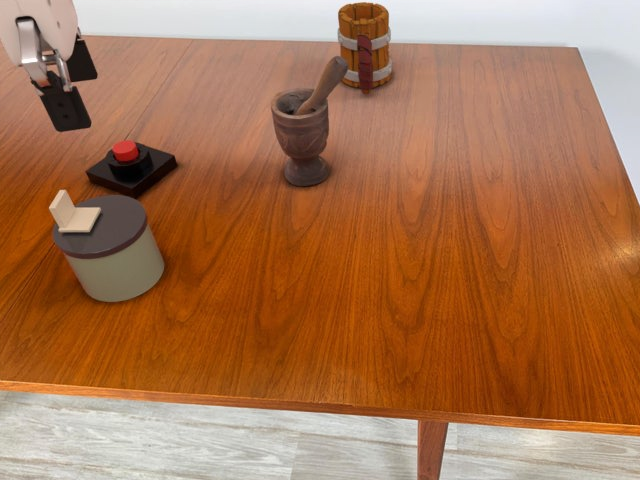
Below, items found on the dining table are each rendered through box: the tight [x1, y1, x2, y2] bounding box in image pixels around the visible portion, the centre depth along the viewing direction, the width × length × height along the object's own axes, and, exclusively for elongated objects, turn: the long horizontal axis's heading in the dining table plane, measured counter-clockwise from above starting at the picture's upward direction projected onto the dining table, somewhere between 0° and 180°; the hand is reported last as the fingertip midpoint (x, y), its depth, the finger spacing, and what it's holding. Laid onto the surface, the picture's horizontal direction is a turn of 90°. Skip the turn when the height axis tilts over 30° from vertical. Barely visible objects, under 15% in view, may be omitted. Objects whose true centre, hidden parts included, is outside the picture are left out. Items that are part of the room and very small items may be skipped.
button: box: [111, 139, 139, 161], centre depth 93 cm, size 4×4×2 cm
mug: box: [337, 1, 393, 95], centre depth 111 cm, size 11×16×15 cm, turn 2°
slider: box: [48, 189, 101, 232], centre depth 73 cm, size 4×4×4 cm
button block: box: [85, 139, 179, 200], centre depth 95 cm, size 10×10×4 cm
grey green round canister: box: [52, 194, 165, 303], centre depth 78 cm, size 11×11×9 cm
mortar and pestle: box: [270, 55, 348, 187], centre depth 89 cm, size 12×9×20 cm
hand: (79, 102), depth 58 cm, fingers open, 9 cm apart
